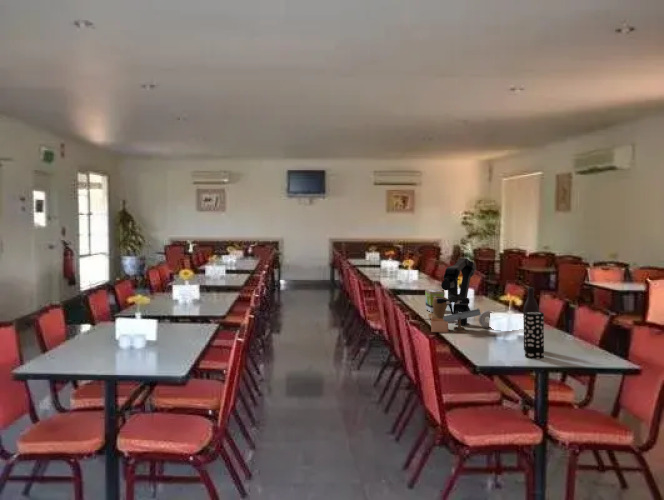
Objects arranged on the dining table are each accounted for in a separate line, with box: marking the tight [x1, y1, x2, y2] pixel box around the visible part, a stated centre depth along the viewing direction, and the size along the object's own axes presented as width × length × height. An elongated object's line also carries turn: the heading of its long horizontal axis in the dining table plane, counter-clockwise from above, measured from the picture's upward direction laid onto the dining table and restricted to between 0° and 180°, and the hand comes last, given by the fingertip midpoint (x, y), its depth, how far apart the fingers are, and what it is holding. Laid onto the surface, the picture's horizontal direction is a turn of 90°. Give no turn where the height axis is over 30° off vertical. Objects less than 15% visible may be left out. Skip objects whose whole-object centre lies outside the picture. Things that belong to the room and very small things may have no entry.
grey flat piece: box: [443, 307, 482, 323], centre depth 386 cm, size 21×16×3 cm
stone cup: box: [427, 296, 448, 320], centre depth 425 cm, size 15×12×15 cm
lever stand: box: [453, 318, 466, 334], centre depth 382 cm, size 6×15×8 cm, turn 172°
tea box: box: [424, 288, 445, 313], centre depth 466 cm, size 15×10×15 cm
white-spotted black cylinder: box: [524, 311, 545, 360], centre depth 305 cm, size 8×8×20 cm
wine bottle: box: [522, 287, 540, 351], centre depth 320 cm, size 7×7×30 cm
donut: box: [478, 310, 493, 329], centre depth 390 cm, size 10×4×10 cm, turn 99°
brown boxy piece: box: [430, 315, 449, 333], centre depth 384 cm, size 10×11×8 cm
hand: (453, 315), depth 392 cm, fingers closed
